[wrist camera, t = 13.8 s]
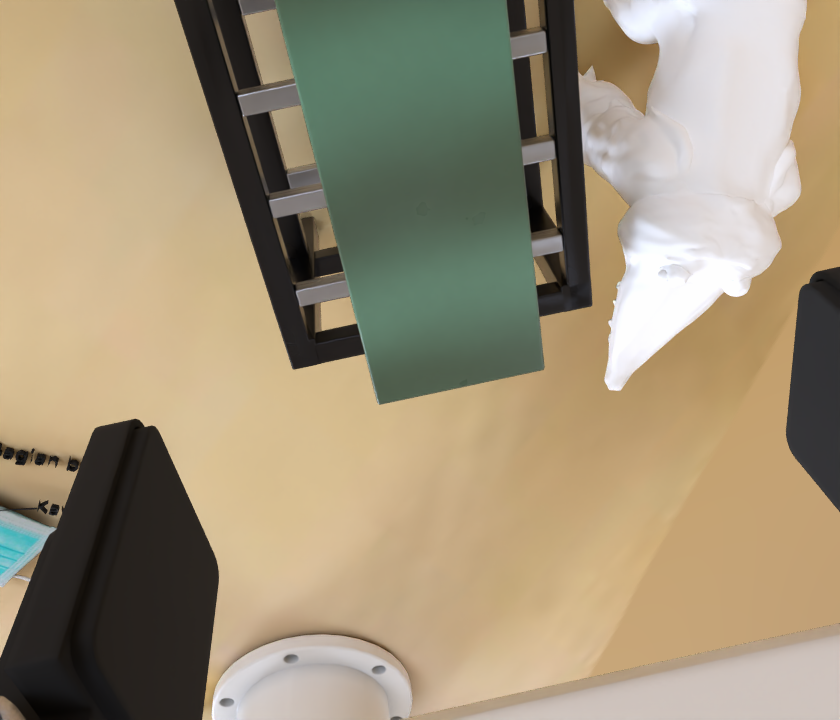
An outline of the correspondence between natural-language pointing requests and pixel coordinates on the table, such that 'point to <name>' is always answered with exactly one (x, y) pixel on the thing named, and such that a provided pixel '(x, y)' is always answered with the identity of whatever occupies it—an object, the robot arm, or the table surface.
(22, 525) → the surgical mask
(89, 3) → the table surface
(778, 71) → the dinosaur statue
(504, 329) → the teal sanding sponge
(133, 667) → the robot arm
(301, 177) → the rack
